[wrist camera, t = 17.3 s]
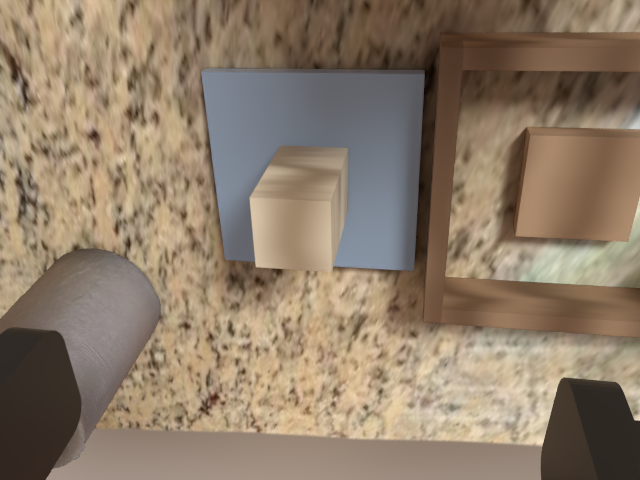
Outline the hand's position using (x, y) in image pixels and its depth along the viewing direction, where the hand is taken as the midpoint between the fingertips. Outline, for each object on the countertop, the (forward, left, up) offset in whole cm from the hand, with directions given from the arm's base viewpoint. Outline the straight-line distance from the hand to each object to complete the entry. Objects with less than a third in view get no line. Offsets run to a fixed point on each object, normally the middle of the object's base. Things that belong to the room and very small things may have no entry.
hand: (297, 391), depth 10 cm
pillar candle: (-23, -22, -31) cm, 44 cm away
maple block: (-5, -10, -30) cm, 32 cm away
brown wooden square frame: (+12, -10, -31) cm, 34 cm away
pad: (-5, -10, -31) cm, 33 cm away
